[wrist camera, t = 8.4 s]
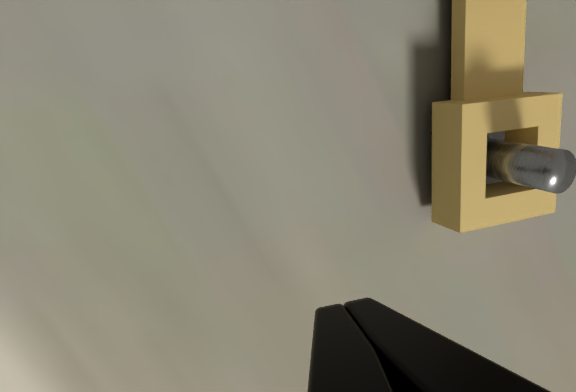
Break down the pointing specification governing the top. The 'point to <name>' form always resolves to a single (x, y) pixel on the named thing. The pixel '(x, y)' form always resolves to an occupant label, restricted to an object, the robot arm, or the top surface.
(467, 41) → the link
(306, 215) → the top surface
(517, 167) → the peg
